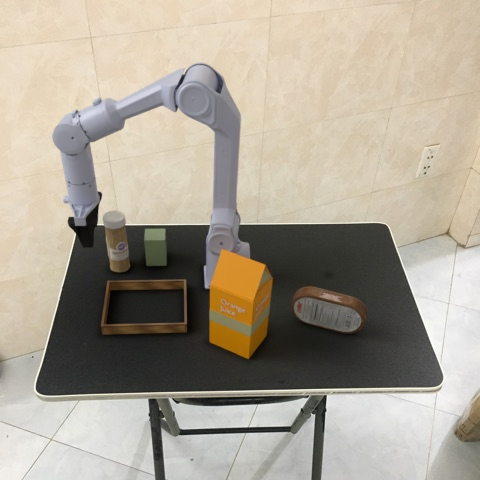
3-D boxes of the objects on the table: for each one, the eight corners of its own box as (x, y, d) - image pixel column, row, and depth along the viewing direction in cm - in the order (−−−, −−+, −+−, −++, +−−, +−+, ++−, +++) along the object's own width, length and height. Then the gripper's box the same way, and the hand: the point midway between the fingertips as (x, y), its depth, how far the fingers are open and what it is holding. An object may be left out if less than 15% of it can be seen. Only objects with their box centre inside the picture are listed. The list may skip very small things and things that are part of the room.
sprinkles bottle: (119, 276, 120) (112, 224, 111) (105, 267, 122) (97, 215, 113) (135, 266, 123) (129, 215, 114) (121, 258, 125) (115, 207, 116)
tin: (363, 330, 111) (372, 298, 105) (360, 340, 109) (369, 309, 103) (291, 311, 114) (296, 280, 109) (287, 321, 112) (292, 289, 106)
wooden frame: (186, 287, 119) (186, 279, 117) (187, 332, 108) (187, 324, 107) (108, 289, 117) (107, 280, 116) (102, 334, 107) (100, 326, 105)
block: (166, 254, 127) (165, 228, 122) (166, 265, 124) (165, 240, 119) (147, 254, 127) (145, 228, 122) (146, 266, 123) (144, 240, 119)
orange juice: (248, 359, 104) (255, 276, 90) (208, 342, 107) (209, 259, 93) (267, 335, 109) (276, 253, 95) (228, 319, 112) (232, 237, 98)
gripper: (65, 160, 112) (75, 217, 121) (53, 197, 102) (65, 256, 111) (100, 160, 113) (108, 217, 122) (92, 197, 102) (101, 256, 112)
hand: (90, 236), depth 117 cm, fingers open, 7 cm apart
